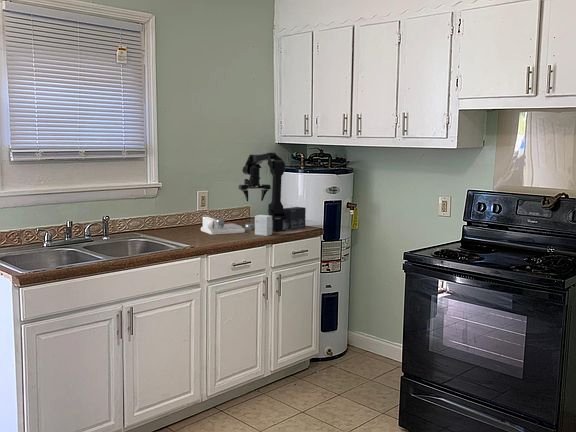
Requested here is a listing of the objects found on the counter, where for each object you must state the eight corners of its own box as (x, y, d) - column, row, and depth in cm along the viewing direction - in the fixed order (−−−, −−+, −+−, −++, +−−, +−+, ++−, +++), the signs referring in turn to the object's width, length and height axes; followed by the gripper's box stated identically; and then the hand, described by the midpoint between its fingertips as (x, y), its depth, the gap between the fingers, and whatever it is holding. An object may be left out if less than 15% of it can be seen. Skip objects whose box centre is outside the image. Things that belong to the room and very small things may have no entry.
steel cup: (255, 230, 345) (255, 224, 345) (247, 230, 343) (247, 225, 342) (251, 228, 350) (251, 223, 349) (243, 229, 347) (243, 224, 347)
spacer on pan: (225, 225, 338) (225, 220, 338) (217, 225, 336) (217, 220, 335) (221, 224, 342) (221, 218, 342) (213, 224, 340) (213, 219, 339)
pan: (242, 228, 336) (242, 226, 336) (222, 229, 330) (222, 227, 330) (232, 225, 346) (232, 223, 346) (213, 226, 340) (213, 224, 340)
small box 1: (272, 234, 330) (272, 215, 328) (266, 236, 325) (267, 216, 324) (260, 233, 334) (260, 214, 332) (254, 234, 329) (254, 215, 328)
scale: (244, 232, 335) (245, 218, 334) (209, 234, 324) (209, 220, 323) (233, 228, 348) (233, 214, 347) (198, 230, 337) (198, 216, 336)
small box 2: (297, 226, 363) (297, 206, 361) (305, 227, 358) (306, 207, 356) (281, 228, 353) (282, 208, 352) (290, 229, 348) (290, 209, 347)
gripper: (264, 174, 373) (264, 199, 375) (235, 174, 366) (235, 200, 368) (271, 175, 363) (270, 201, 364) (241, 175, 356) (241, 202, 358)
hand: (254, 201), depth 364 cm, fingers open, 9 cm apart
